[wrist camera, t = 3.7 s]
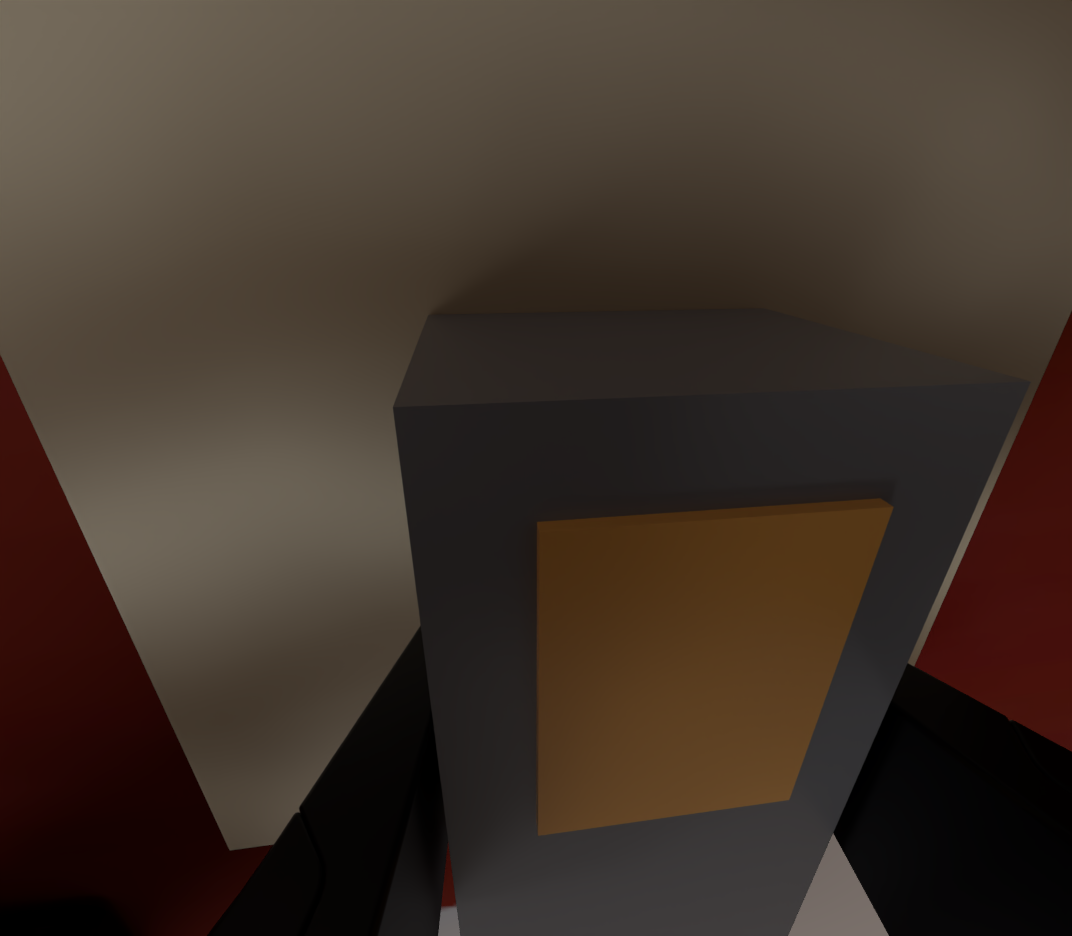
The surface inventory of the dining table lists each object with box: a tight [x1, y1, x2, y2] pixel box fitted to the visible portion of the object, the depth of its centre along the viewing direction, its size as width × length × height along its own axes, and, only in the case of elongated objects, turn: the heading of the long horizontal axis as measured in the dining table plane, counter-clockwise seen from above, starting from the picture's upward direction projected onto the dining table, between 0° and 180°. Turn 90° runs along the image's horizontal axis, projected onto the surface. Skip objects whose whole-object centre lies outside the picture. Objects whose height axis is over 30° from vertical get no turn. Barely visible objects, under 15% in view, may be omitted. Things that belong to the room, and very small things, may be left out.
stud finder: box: [393, 308, 1031, 936], centre depth 8 cm, size 10×5×4 cm, turn 0°
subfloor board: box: [0, 0, 1072, 850], centre depth 8 cm, size 22×16×2 cm
